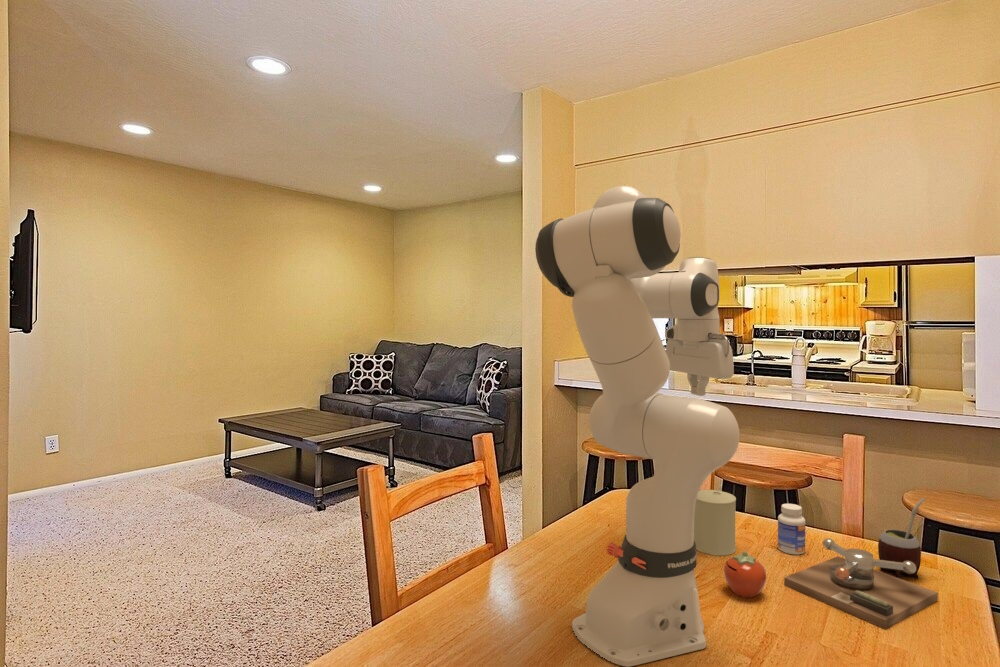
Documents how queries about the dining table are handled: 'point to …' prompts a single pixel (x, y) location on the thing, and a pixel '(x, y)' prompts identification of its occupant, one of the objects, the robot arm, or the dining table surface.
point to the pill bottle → (791, 529)
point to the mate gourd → (900, 547)
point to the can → (715, 522)
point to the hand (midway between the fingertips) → (698, 394)
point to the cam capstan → (860, 567)
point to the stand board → (863, 594)
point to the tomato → (745, 575)
